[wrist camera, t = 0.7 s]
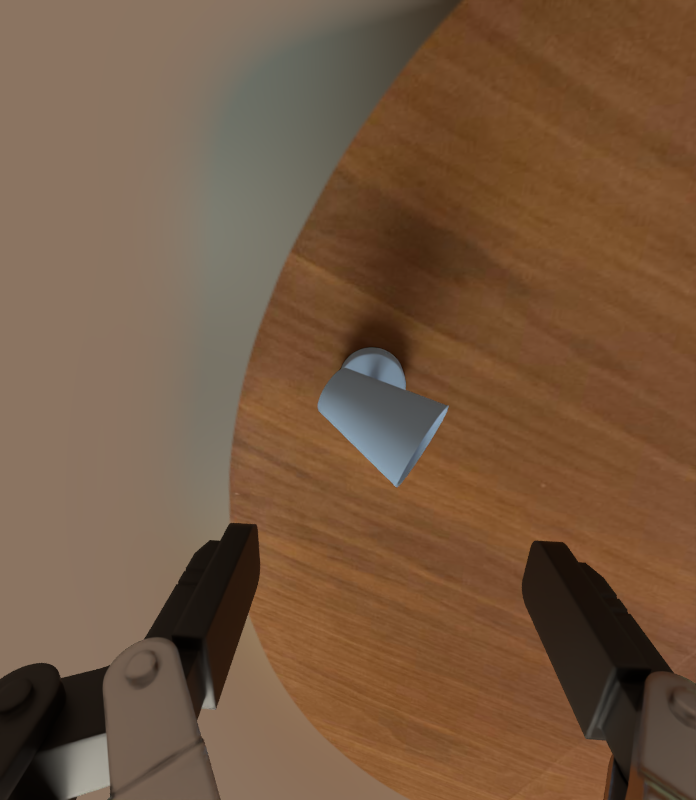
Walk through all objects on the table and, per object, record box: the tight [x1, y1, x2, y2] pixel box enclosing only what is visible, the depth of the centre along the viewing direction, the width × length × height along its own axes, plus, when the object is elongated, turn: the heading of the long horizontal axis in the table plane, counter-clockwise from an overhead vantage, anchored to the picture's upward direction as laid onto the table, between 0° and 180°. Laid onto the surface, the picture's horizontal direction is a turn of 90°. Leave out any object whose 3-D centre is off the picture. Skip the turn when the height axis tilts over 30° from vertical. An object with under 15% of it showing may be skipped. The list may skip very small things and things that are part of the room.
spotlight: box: [318, 347, 449, 487], centre depth 22 cm, size 5×10×7 cm
